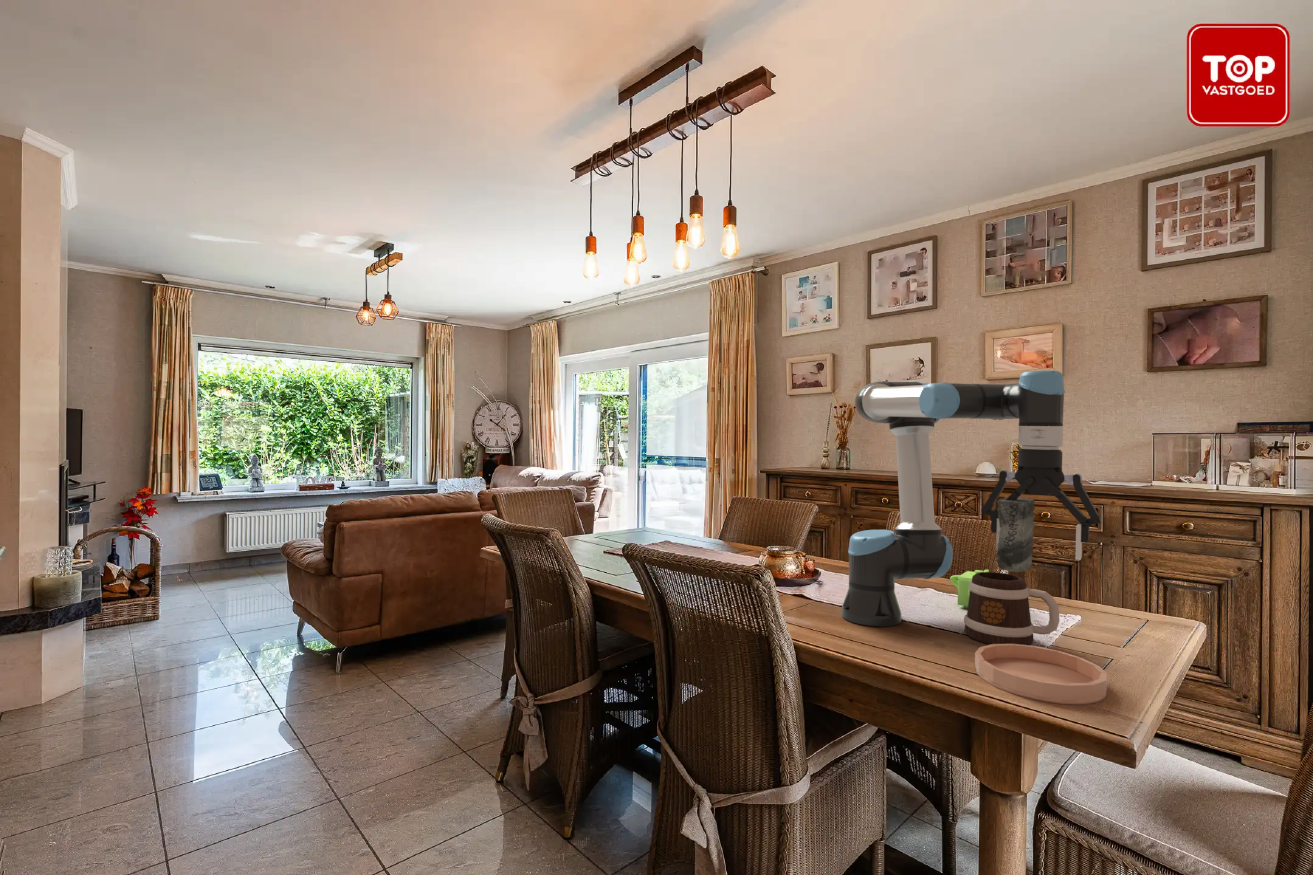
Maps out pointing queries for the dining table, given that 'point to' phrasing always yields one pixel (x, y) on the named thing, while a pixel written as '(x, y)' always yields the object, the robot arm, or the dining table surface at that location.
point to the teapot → (964, 586)
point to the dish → (1041, 673)
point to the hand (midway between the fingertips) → (1037, 553)
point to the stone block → (1015, 534)
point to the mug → (1005, 610)
